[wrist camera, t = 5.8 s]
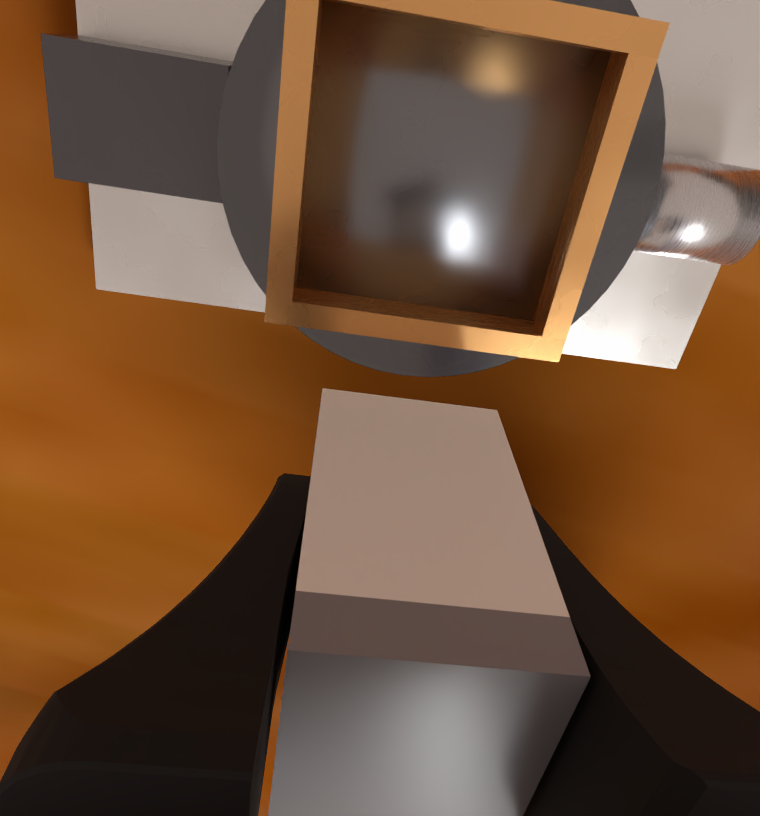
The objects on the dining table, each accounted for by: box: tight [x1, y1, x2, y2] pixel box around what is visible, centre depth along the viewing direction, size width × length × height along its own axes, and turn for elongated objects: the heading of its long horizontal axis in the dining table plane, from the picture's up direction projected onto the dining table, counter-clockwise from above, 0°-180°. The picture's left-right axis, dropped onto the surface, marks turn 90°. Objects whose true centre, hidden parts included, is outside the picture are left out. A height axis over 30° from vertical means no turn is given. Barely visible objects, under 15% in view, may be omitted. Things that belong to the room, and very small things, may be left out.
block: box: [268, 388, 591, 816], centre depth 12 cm, size 4×4×7 cm
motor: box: [41, 0, 760, 377], centre depth 15 cm, size 11×18×5 cm, turn 81°
